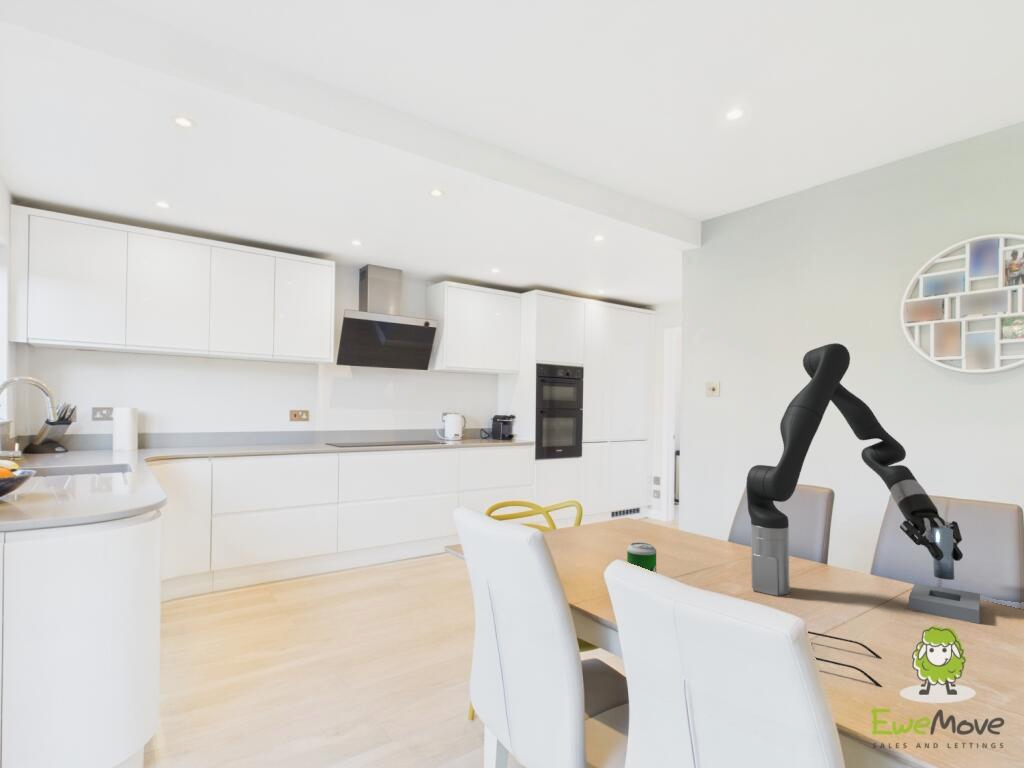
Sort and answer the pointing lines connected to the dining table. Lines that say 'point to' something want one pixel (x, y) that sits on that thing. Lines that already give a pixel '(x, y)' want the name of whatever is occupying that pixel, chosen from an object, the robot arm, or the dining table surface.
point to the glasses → (849, 665)
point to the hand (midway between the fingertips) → (949, 558)
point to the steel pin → (944, 553)
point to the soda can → (642, 555)
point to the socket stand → (945, 602)
